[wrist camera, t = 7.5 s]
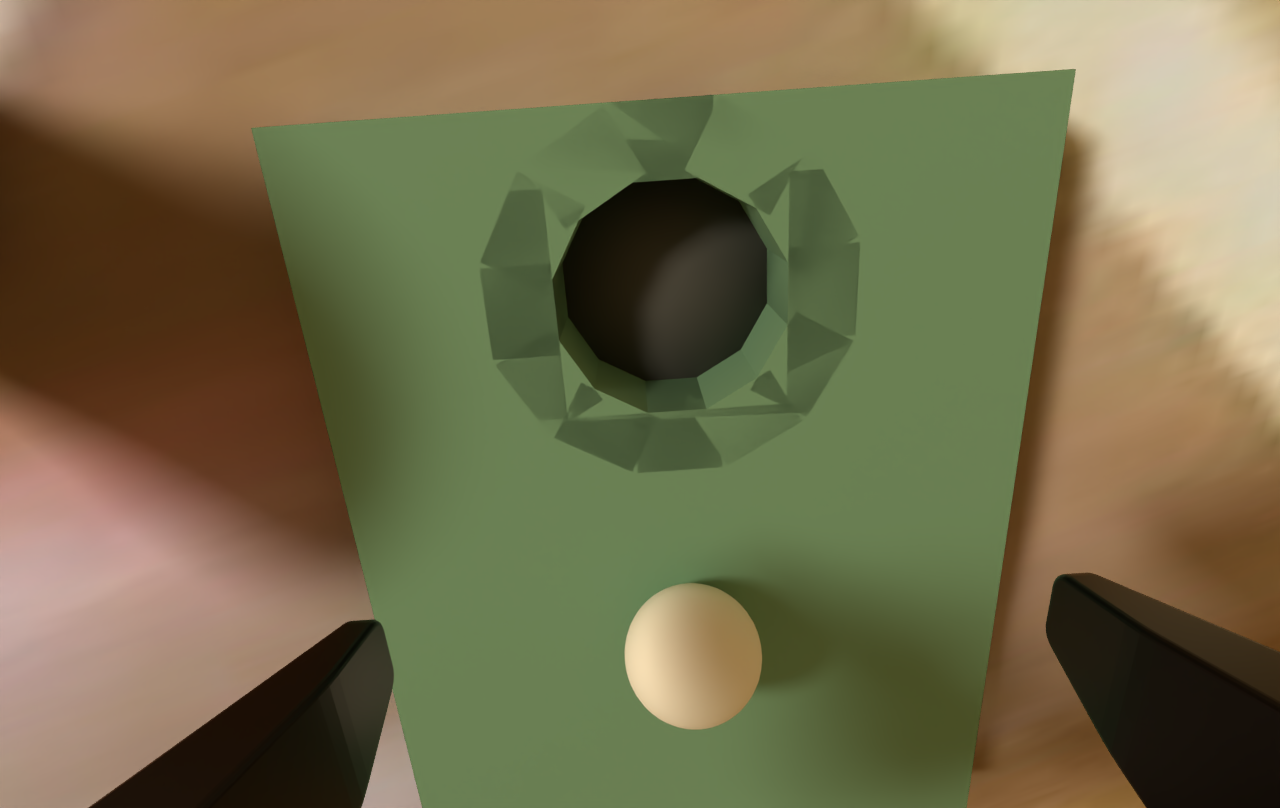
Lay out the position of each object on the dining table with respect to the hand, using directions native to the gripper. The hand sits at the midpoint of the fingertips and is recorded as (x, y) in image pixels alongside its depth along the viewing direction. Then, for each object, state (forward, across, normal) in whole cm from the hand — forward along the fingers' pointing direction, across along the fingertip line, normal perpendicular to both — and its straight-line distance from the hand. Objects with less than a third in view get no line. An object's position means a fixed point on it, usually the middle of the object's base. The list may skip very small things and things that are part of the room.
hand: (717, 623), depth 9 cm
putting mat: (+9, 0, +3) cm, 10 cm away
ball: (+5, 0, +5) cm, 7 cm away
